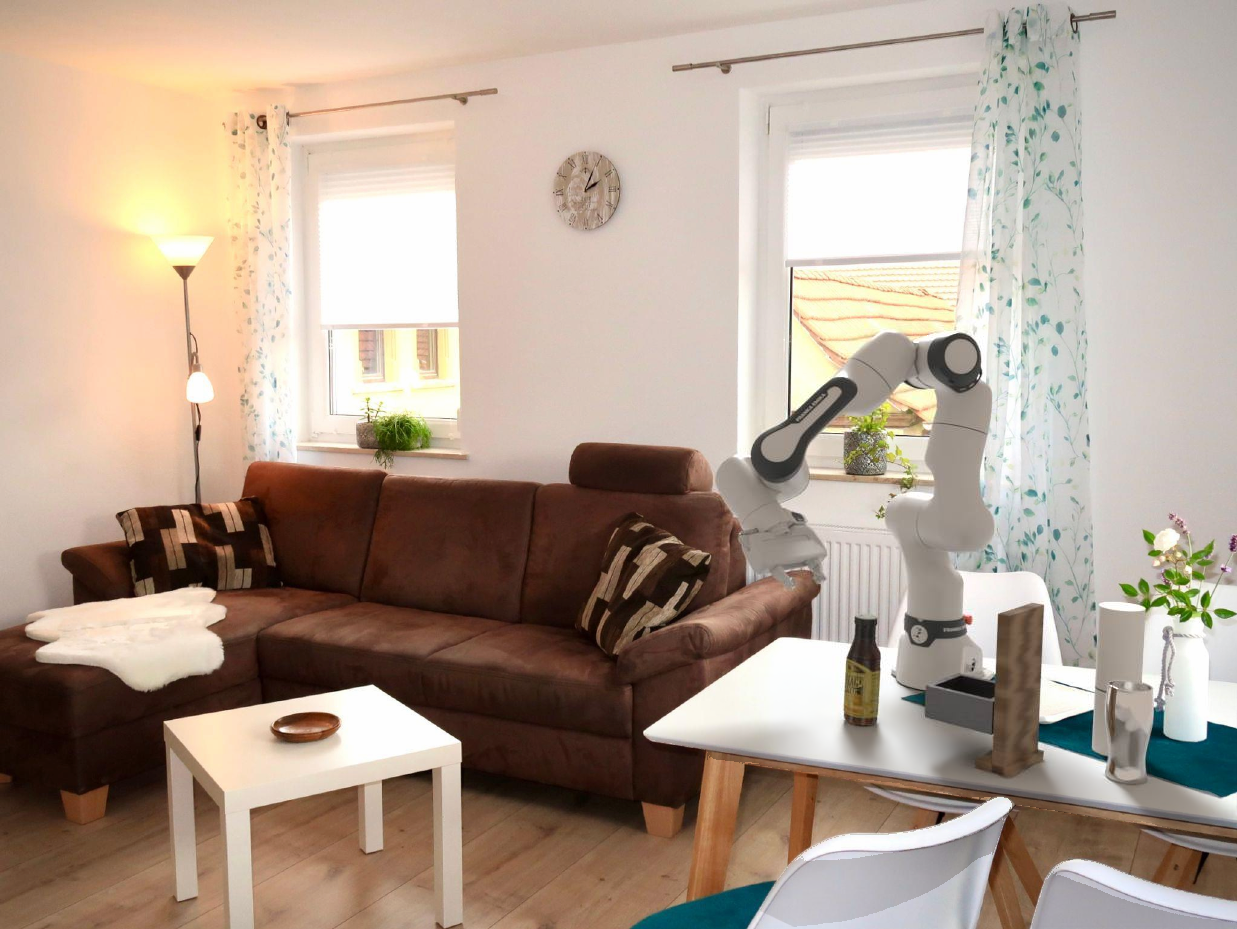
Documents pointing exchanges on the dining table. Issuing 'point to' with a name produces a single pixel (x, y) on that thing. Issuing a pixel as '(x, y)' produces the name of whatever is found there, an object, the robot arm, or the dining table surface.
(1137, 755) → the beer glass
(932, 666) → the robot arm
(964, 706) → the open rectangular box
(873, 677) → the sauce bottle
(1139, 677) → the cylindrical container
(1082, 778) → the dining table surface
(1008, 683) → the wall board
